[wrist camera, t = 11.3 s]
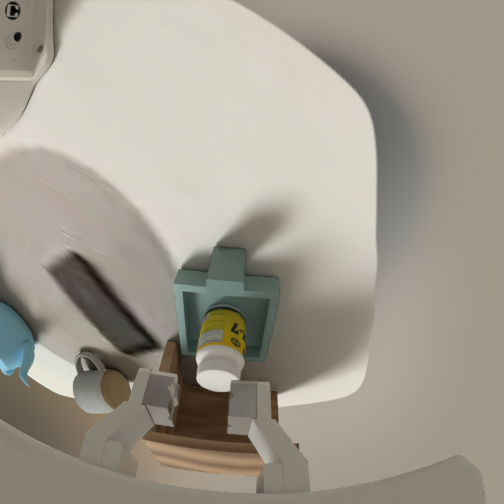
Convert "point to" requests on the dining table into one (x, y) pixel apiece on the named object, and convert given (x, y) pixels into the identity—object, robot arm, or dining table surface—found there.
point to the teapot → (15, 343)
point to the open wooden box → (203, 430)
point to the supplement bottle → (221, 347)
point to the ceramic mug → (99, 386)
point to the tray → (226, 301)
